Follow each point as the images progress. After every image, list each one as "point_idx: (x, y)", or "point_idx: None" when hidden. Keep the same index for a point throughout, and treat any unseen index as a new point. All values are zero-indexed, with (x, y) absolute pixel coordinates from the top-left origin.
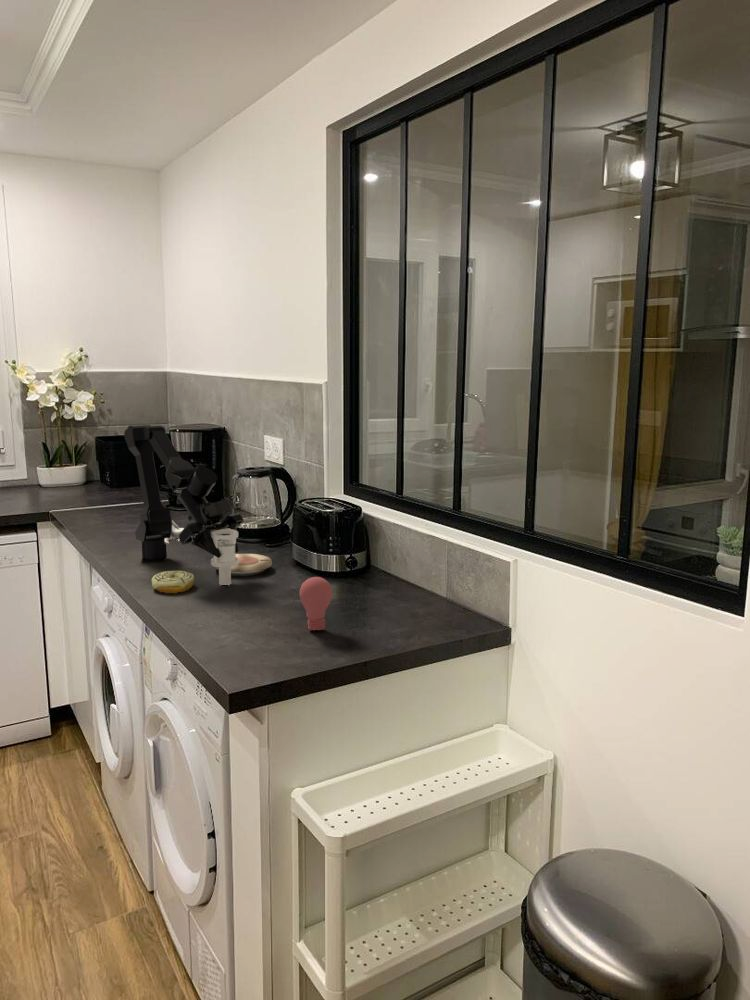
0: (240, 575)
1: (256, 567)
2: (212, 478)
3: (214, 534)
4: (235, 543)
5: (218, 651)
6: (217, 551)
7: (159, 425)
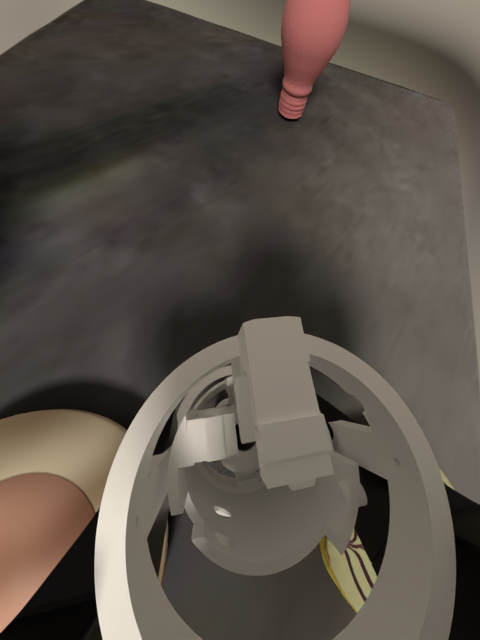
0: None
1: (80, 413)
2: None
3: (428, 499)
4: (154, 449)
5: (431, 162)
6: (331, 406)
7: None
